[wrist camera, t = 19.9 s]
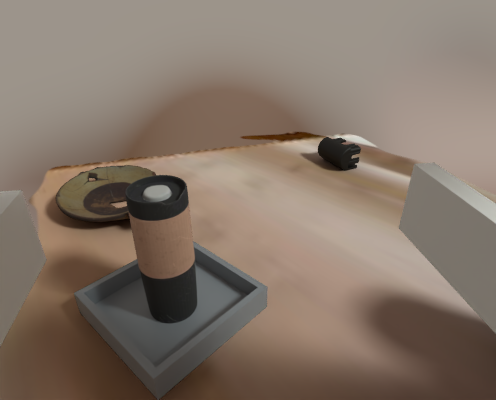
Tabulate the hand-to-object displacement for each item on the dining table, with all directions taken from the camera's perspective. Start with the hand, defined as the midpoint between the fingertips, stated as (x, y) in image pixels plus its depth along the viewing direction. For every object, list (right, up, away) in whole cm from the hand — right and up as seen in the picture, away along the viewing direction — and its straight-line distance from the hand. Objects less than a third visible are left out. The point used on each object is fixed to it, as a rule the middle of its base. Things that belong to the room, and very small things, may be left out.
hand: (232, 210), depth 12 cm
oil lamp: (-29, -3, +68) cm, 74 cm away
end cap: (+26, +10, +90) cm, 94 cm away
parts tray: (-11, -16, +42) cm, 47 cm away
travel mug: (-11, -16, +42) cm, 46 cm away
